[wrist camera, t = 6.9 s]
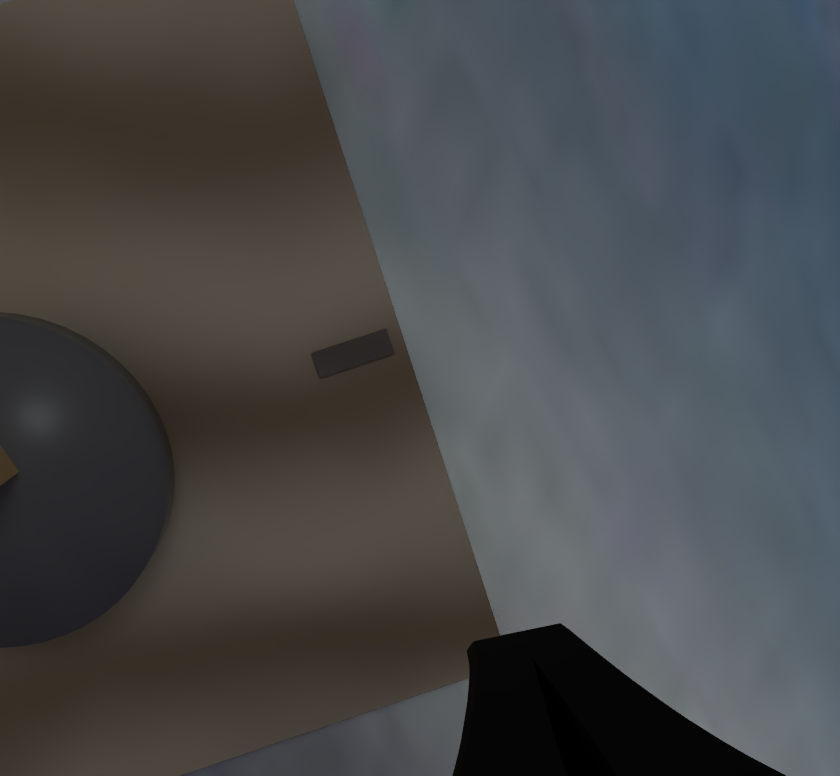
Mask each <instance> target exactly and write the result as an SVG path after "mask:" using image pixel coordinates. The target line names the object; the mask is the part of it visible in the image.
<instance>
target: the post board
mask: <svg viewBox="0 0 840 776" xmlns="http://www.w3.org/2000/svg"><path fill="white" fill-rule="evenodd" d="M0 312H4V313H16V314H21V315H26V316H31V317H36V318H40V319H43V320H46V321H49V322H52V323H55V324H58V325H61V326H63V327H65V328H68V329H70V330H72V331H74V332H76V333H78V334H80V335H82V336H84V337H86V338H87V339H89V340H90V341H92V342H94V343H95V344H97V345H98V346H100V347H101V348H103V349H104V350H105V351H107V352H108V353H109V354H110V355H112V356H113V357H114V358H115V359H116V360H118V361H119V362H120V363H121V364H122V365H123V366H124V367H125V368H126V369H127V370H128V371H129V372H130V373H131V374H132V375H133V376H134V377H135V378H136V380H137V381H138V382H139V384H140V385H141V386H142V388H143V389H144V390H145V392H146V393H147V394H148V396H149V397H150V399H151V401H152V402H153V404H154V406H155V408H156V410H157V411H158V413H159V415H160V417H161V420H162V422H163V425H164V427H165V430H166V432H167V435H168V438H169V443H170V447H171V451H172V455H173V463H174V472H175V484H174V499H173V504H172V510H171V515H170V518H169V521H168V524H167V527H166V530H165V533H164V535H163V537H162V539H161V541H160V543H159V545H158V547H157V549H156V551H155V552H154V554H153V556H152V557H151V559H150V560H149V562H148V564H147V565H146V567H145V569H144V570H143V572H142V573H141V575H140V576H139V577H138V579H137V580H136V582H135V583H134V585H133V586H132V587H131V588H130V590H129V591H128V592H127V593H126V594H125V595H124V596H123V597H122V598H121V599H120V600H119V601H118V602H117V603H116V604H115V605H114V606H113V607H111V608H110V609H109V610H108V611H107V612H105V613H104V614H103V615H102V616H100V617H98V618H97V619H95V620H94V621H92V622H90V623H89V624H87V625H86V626H84V627H82V628H80V629H78V630H75V631H73V632H71V633H69V634H67V635H65V636H61V637H58V638H55V639H52V640H49V641H46V642H42V643H37V644H32V645H26V646H20V647H6V648H0V776H180V775H183V774H186V773H189V772H192V771H195V770H198V769H201V768H204V767H207V766H210V765H213V764H216V763H219V762H222V761H225V760H228V759H231V758H234V757H237V756H240V755H243V754H246V753H248V752H251V751H254V750H257V749H260V748H263V747H266V746H269V745H272V744H275V743H278V742H281V741H284V740H287V739H290V738H293V737H296V736H299V735H302V734H305V733H308V732H311V731H314V730H317V729H319V728H322V727H325V726H328V725H331V724H334V723H337V722H340V721H343V720H346V719H349V718H352V717H355V716H358V715H361V714H364V713H367V712H370V711H373V710H376V709H379V708H382V707H385V706H388V705H390V704H393V703H396V702H399V701H402V700H405V699H408V698H411V697H414V696H417V695H420V694H423V693H426V692H429V691H432V690H435V689H438V688H441V687H444V686H447V685H450V684H453V683H456V682H458V681H461V680H464V679H467V678H469V662H468V656H467V649H468V648H469V646H470V645H471V644H472V642H473V641H477V640H482V639H487V638H491V637H496V636H500V634H499V631H498V628H497V625H496V622H495V619H494V616H493V612H492V609H491V606H490V603H489V600H488V597H487V594H486V591H485V588H484V585H483V582H482V579H481V576H480V573H479V569H478V566H477V563H476V560H475V557H474V554H473V551H472V548H471V545H470V542H469V539H468V536H467V533H466V530H465V526H464V523H463V520H462V517H461V514H460V511H459V508H458V505H457V502H456V499H455V496H454V493H453V490H452V487H451V483H450V480H449V477H448V474H447V471H446V468H445V465H444V462H443V459H442V456H441V453H440V450H439V447H438V444H437V440H436V437H435V434H434V431H433V428H432V425H431V422H430V419H429V416H428V413H427V410H426V407H425V404H424V401H423V397H422V394H421V391H420V388H419V385H418V382H417V379H416V376H415V373H414V370H413V367H412V364H411V361H410V358H409V354H408V351H407V348H406V345H405V342H404V339H403V336H402V333H401V330H400V327H399V324H398V321H397V318H396V315H395V311H394V308H393V305H392V302H391V299H390V296H389V293H388V290H387V287H386V284H385V281H384V278H383V275H382V272H381V268H380V265H379V262H378V259H377V256H376V253H375V250H374V247H373V244H372V241H371V238H370V235H369V232H368V229H367V226H366V222H365V219H364V216H363V213H362V210H361V207H360V204H359V201H358V198H357V195H356V192H355V189H354V186H353V183H352V179H351V176H350V173H349V170H348V167H347V164H346V161H345V158H344V155H343V152H342V149H341V146H340V143H339V140H338V136H337V133H336V130H335V127H334V124H333V121H332V118H331V115H330V112H329V109H328V106H327V103H326V100H325V97H324V93H323V90H322V87H321V84H320V81H319V78H318V75H317V72H316V69H315V66H314V63H313V60H312V57H311V54H310V50H309V47H308V44H307V41H306V38H305V35H304V32H303V29H302V26H301V23H300V20H299V17H298V14H297V11H296V7H295V4H294V1H293V0H13V1H10V2H7V3H4V4H1V5H0Z"/></svg>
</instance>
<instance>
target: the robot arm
mask: <svg viewBox="0 0 840 776" xmlns="http://www.w3.org/2000/svg"><path fill="white" fill-rule="evenodd" d="M467 656H468V662H469V690H468V702H467V708H466V715H465V721H464V727H463V733H462V739H461V744H460V748H459V753H458V757H457V761H456V765H455V769H454V772H453V776H786V775H784V774H782V773H780V772H778V771H776V770H774V769H772V768H770V767H768V766H767V765H765V764H763V763H761V762H759V761H757V760H755V759H753V758H751V757H749V756H748V755H746V754H744V753H742V752H741V751H739V750H737V749H735V748H734V747H732V746H730V745H728V744H727V743H725V742H723V741H722V740H720V739H718V738H717V737H715V736H714V735H712V734H710V733H709V732H707V731H706V730H704V729H703V728H701V727H699V726H698V725H696V724H695V723H693V722H691V721H690V720H688V719H687V718H685V717H684V716H682V715H681V714H679V713H678V712H676V711H675V710H673V709H672V708H670V707H669V706H668V705H666V704H665V703H663V702H662V701H661V700H659V699H658V698H656V697H655V696H654V695H652V694H651V693H650V692H648V691H647V690H645V689H644V688H643V687H641V686H640V685H638V684H637V683H636V682H634V681H633V680H632V679H630V678H629V677H628V676H626V675H625V674H624V673H622V672H621V671H620V670H619V669H617V668H616V667H615V666H613V665H612V664H611V663H610V662H608V661H607V660H606V659H605V658H603V657H602V656H601V655H600V654H598V653H597V652H596V651H595V650H593V649H592V648H591V647H590V646H588V645H587V644H586V643H585V642H584V641H582V640H581V639H580V638H579V637H578V636H576V635H575V634H574V633H573V632H571V631H570V630H569V629H568V628H566V627H565V626H563V625H562V624H561V623H559V624H555V625H550V626H545V627H540V628H535V629H530V630H525V631H521V632H516V633H511V634H506V635H501V636H496V637H491V638H487V639H482V640H477V641H473V642H472V644H471V645H470V646H469V648H468V649H467Z"/></svg>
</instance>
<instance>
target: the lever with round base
mask: <svg viewBox="0 0 840 776" xmlns="http://www.w3.org/2000/svg"><path fill="white" fill-rule="evenodd" d="M174 484H175V472H174V463H173V455H172V451H171V447H170V443H169V438H168V435H167V432H166V430H165V427H164V425H163V422H162V420H161V417H160V415H159V413H158V411H157V410H156V408H155V406H154V404H153V402H152V401H151V399H150V397H149V396H148V394H147V393H146V392H145V390H144V389H143V388H142V386H141V385H140V384H139V382H138V381H137V380H136V378H135V377H134V376H133V375H132V374H131V373H130V372H129V371H128V370H127V369H126V368H125V367H124V366H123V365H122V364H121V363H120V362H119V361H118V360H116V359H115V358H114V357H113V356H112V355H110V354H109V353H108V352H107V351H105V350H104V349H103V348H101V347H100V346H98V345H97V344H95V343H94V342H92V341H90V340H89V339H87V338H86V337H84V336H82V335H80V334H78V333H76V332H74V331H72V330H70V329H68V328H65V327H63V326H61V325H58V324H55V323H52V322H49V321H46V320H43V319H40V318H36V317H31V316H26V315H21V314H16V313H4V312H0V648H6V647H20V646H26V645H32V644H37V643H42V642H46V641H49V640H52V639H55V638H58V637H61V636H65V635H67V634H69V633H71V632H73V631H75V630H78V629H80V628H82V627H84V626H86V625H87V624H89V623H90V622H92V621H94V620H95V619H97V618H98V617H100V616H102V615H103V614H104V613H105V612H107V611H108V610H109V609H110V608H111V607H113V606H114V605H115V604H116V603H117V602H118V601H119V600H120V599H121V598H122V597H123V596H124V595H125V594H126V593H127V592H128V591H129V590H130V588H131V587H132V586H133V585H134V583H135V582H136V580H137V579H138V577H139V576H140V575H141V573H142V572H143V570H144V569H145V567H146V565H147V564H148V562H149V560H150V559H151V557H152V556H153V554H154V552H155V551H156V549H157V547H158V545H159V543H160V541H161V539H162V537H163V535H164V533H165V530H166V527H167V524H168V521H169V518H170V515H171V510H172V504H173V499H174Z"/></svg>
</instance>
